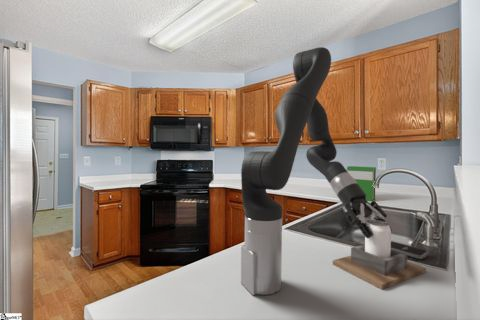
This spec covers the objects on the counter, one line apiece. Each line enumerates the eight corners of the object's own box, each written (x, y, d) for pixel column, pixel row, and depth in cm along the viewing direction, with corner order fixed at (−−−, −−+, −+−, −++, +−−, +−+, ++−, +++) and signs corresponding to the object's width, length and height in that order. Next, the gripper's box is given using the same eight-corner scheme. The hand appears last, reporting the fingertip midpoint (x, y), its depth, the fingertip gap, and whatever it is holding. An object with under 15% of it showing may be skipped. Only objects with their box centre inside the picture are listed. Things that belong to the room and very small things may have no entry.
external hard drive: (420, 262, 75) (421, 256, 75) (382, 251, 84) (382, 245, 84) (428, 257, 79) (428, 250, 79) (390, 246, 88) (391, 241, 88)
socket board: (381, 289, 59) (382, 269, 59) (332, 264, 72) (333, 247, 72) (426, 272, 68) (426, 254, 68) (375, 252, 82) (375, 237, 81)
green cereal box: (375, 200, 178) (375, 167, 177) (372, 201, 172) (372, 167, 172) (349, 196, 190) (350, 166, 189) (346, 198, 184) (347, 166, 184)
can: (367, 257, 75) (368, 218, 75) (391, 263, 71) (392, 222, 70) (362, 264, 70) (363, 222, 70) (388, 271, 66) (389, 227, 65)
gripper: (338, 183, 74) (373, 231, 64) (369, 181, 80) (404, 225, 70) (324, 197, 79) (355, 244, 69) (354, 194, 85) (386, 237, 75)
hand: (380, 234), depth 70 cm, fingers open, 8 cm apart
